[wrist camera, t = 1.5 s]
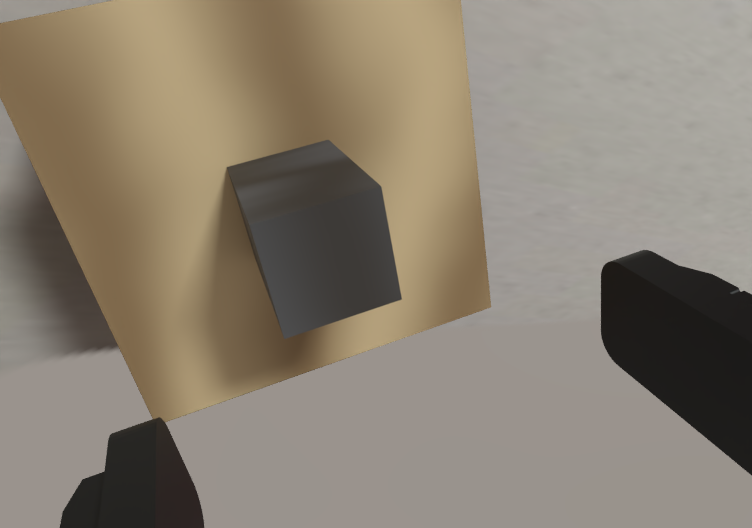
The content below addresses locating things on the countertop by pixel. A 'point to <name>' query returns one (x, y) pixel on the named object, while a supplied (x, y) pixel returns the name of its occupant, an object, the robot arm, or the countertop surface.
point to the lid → (255, 179)
